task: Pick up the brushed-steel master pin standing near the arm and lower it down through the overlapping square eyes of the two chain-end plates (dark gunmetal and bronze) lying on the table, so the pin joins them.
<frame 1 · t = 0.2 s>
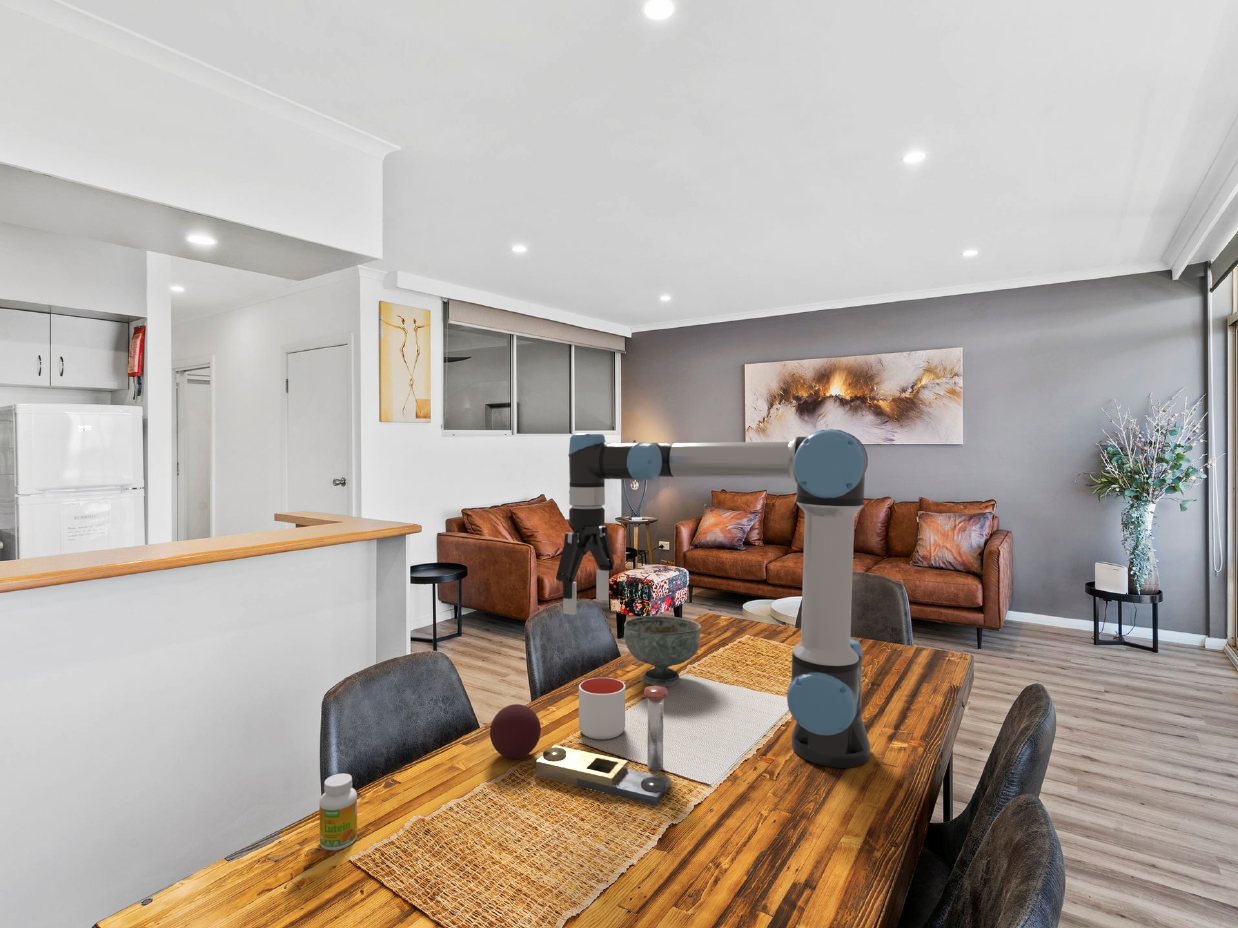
hand: (586, 606, 140), 27 cm above the table, fingers open, 13 cm apart
decorative ball: (515, 756, 131), on the table
cup: (602, 732, 142), on the table
bowl: (661, 679, 173), on the table
chain ends: (602, 781, 121), on the table
supplement bottle: (338, 841, 103), on the table
master pin: (655, 767, 126), on the table
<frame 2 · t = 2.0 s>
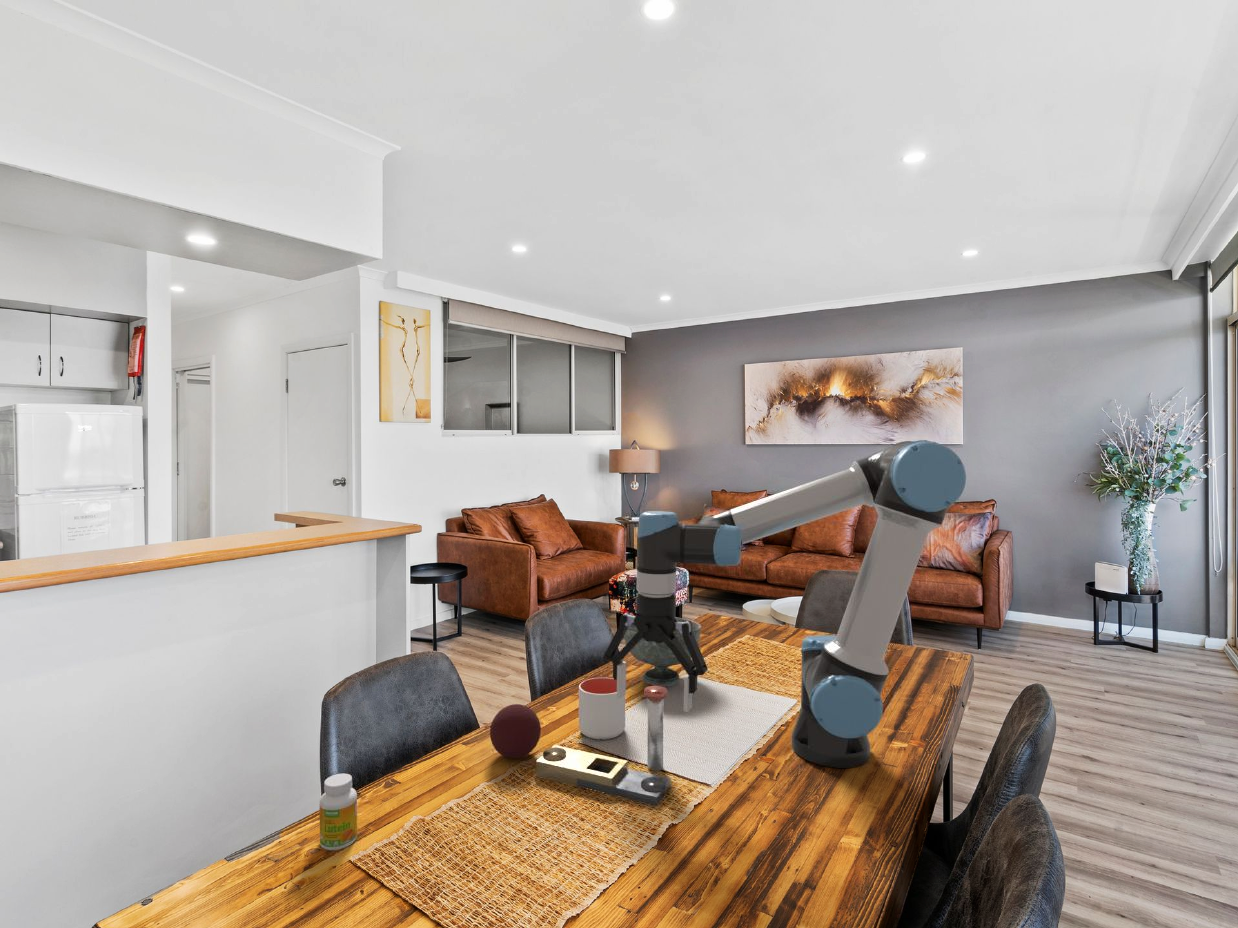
hand: (653, 702, 126), 12 cm above the table, fingers open, 13 cm apart
nothing on the table moved.
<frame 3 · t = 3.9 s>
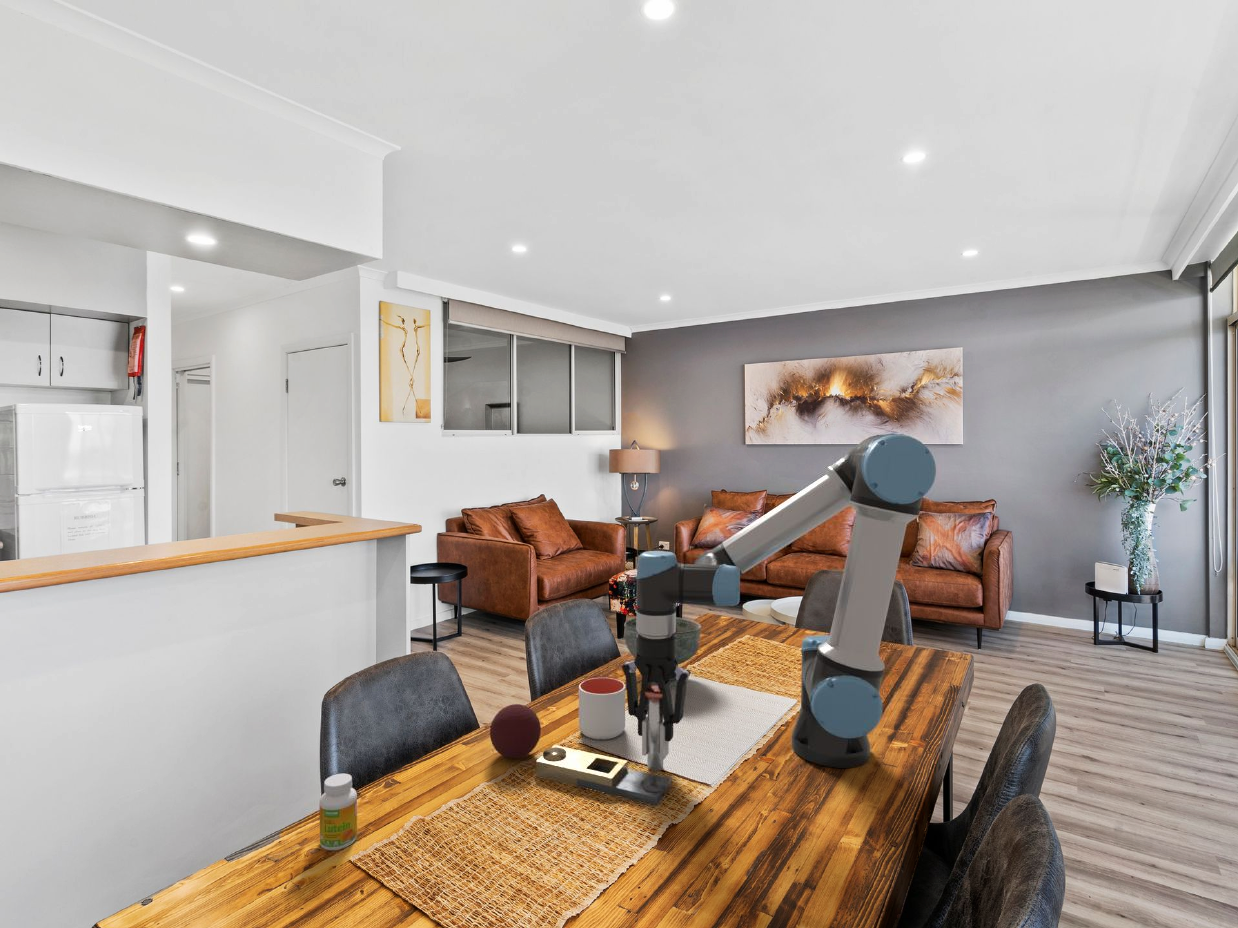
hand: (655, 753, 126), 3 cm above the table, fingers closed on master pin, 3 cm apart
master pin: (655, 766, 126), on the table, touching gripper
everything else where it was.
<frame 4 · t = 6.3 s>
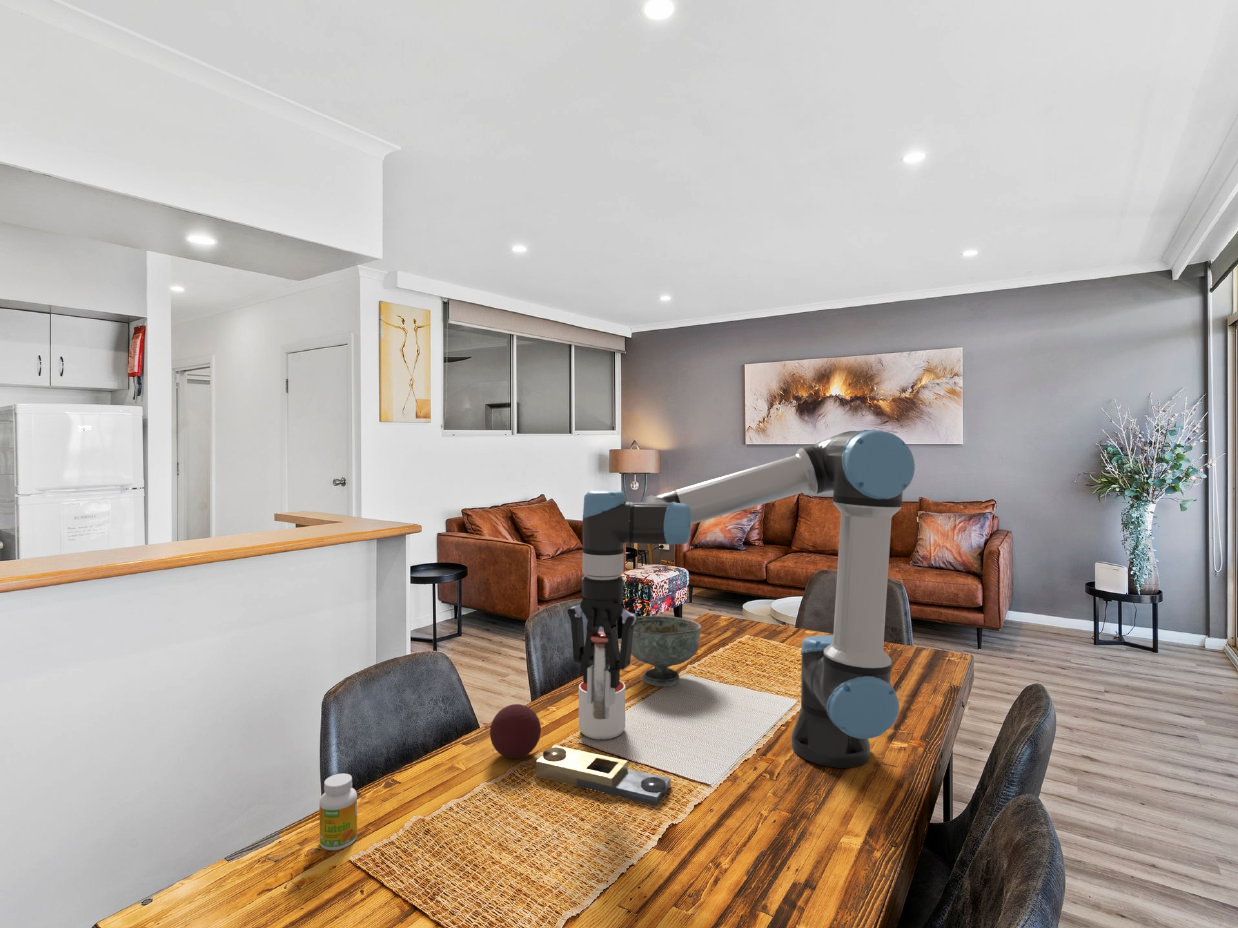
hand: (600, 702, 120), 15 cm above the table, fingers closed on master pin, 3 cm apart
master pin: (600, 715, 120), point 12 cm above the table, touching gripper
everything else where it was.
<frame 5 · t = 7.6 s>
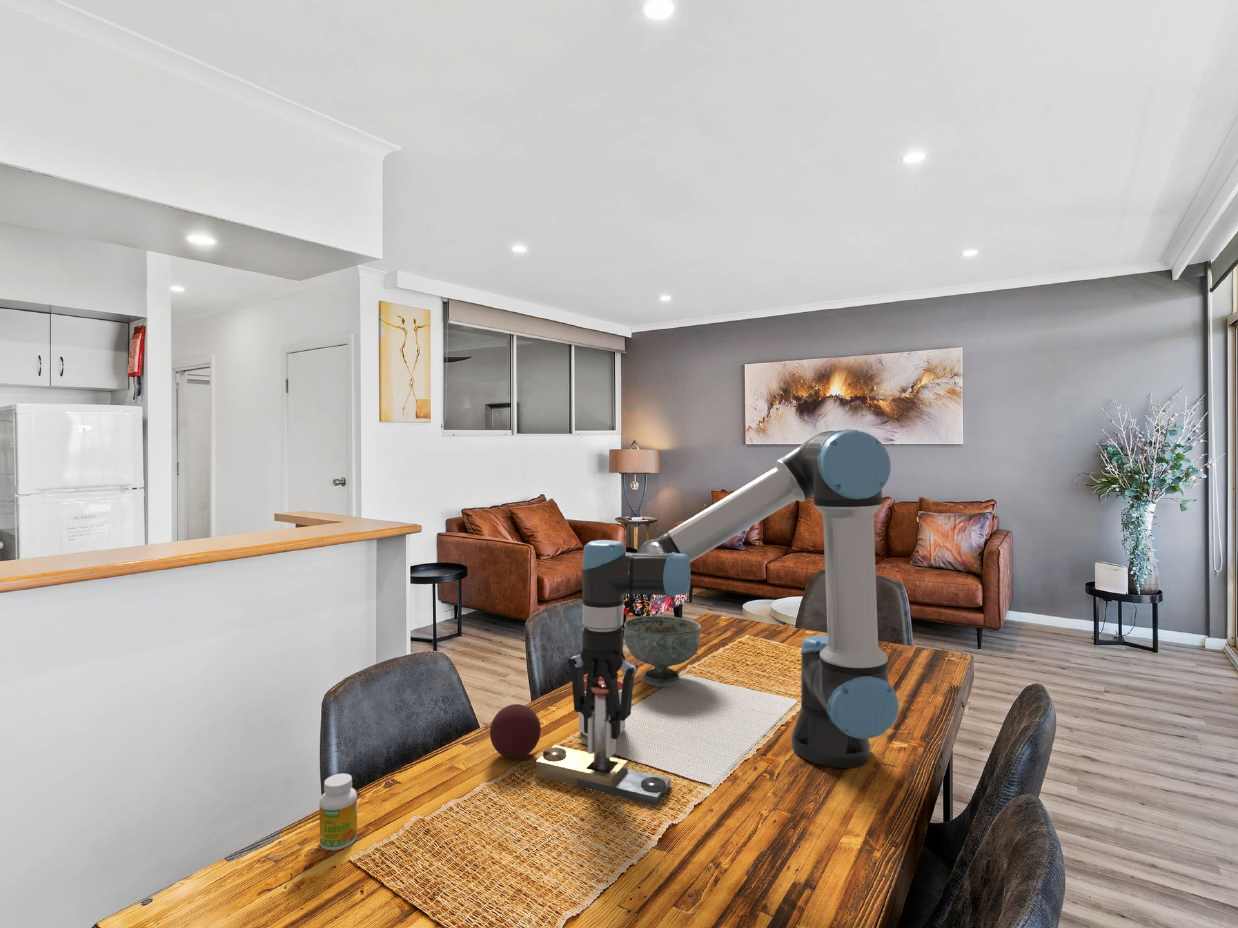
hand: (601, 752, 121), 5 cm above the table, fingers closed on master pin, 3 cm apart
master pin: (601, 765, 121), point 3 cm above the table, touching gripper
everything else where it was.
when the fingers open (4 cm above the table, at t = 8.7 s): master pin drops 1 cm, resting in chain ends.
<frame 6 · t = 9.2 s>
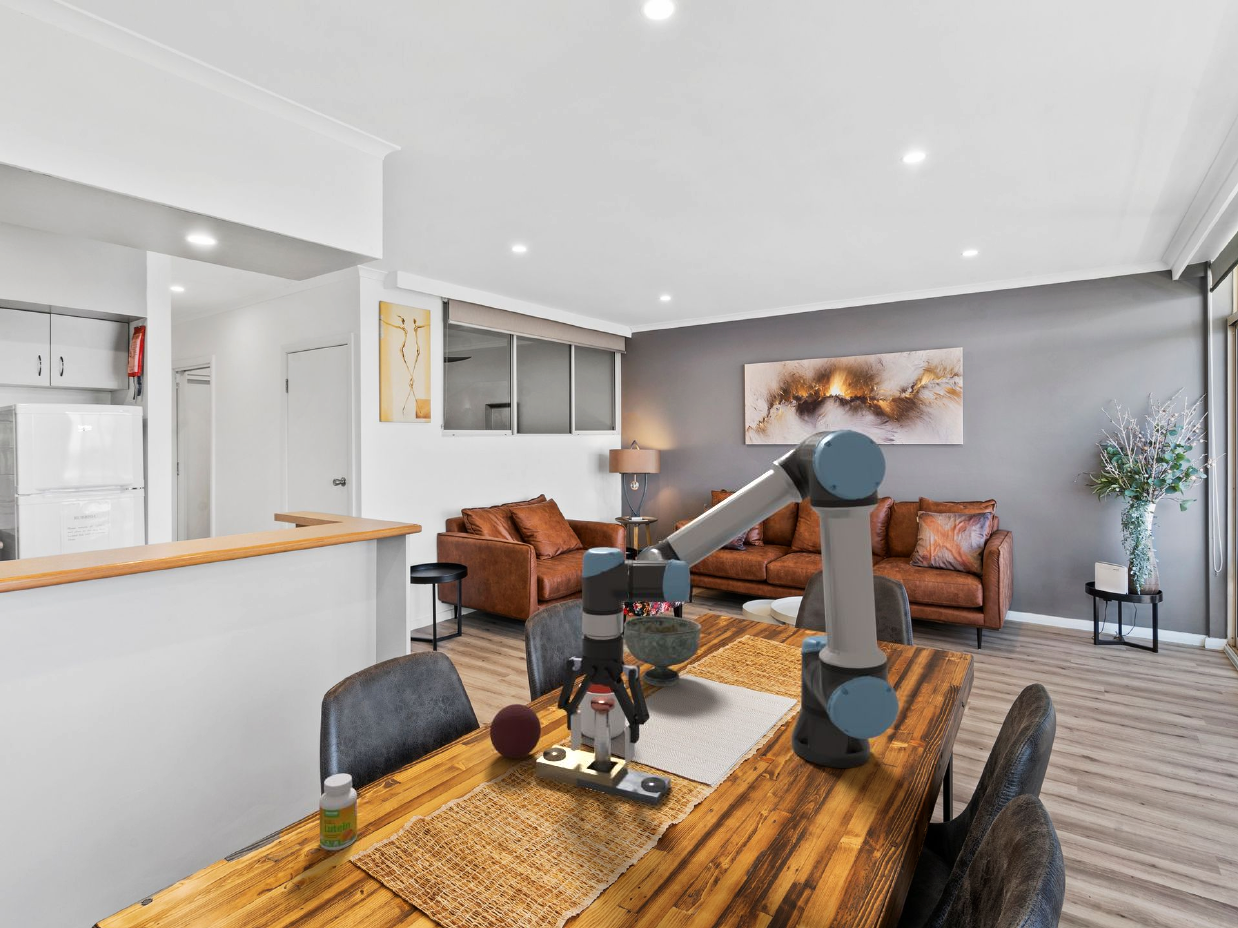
hand: (602, 753, 121), 5 cm above the table, fingers open, 10 cm apart
master pin: (602, 781, 121), resting in chain ends
everything else where it was.
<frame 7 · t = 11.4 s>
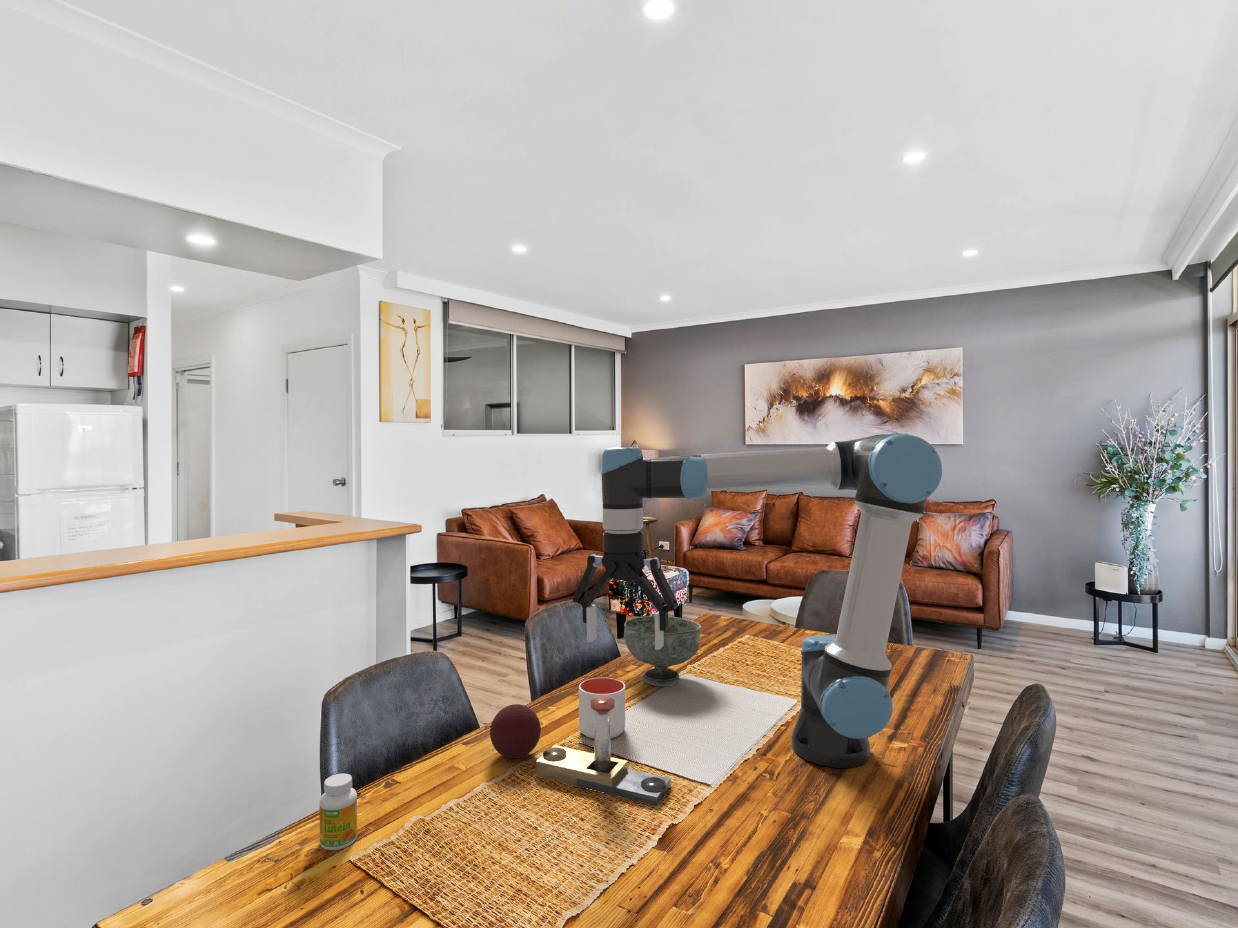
hand: (624, 643, 123), 25 cm above the table, fingers open, 13 cm apart
nothing on the table moved.
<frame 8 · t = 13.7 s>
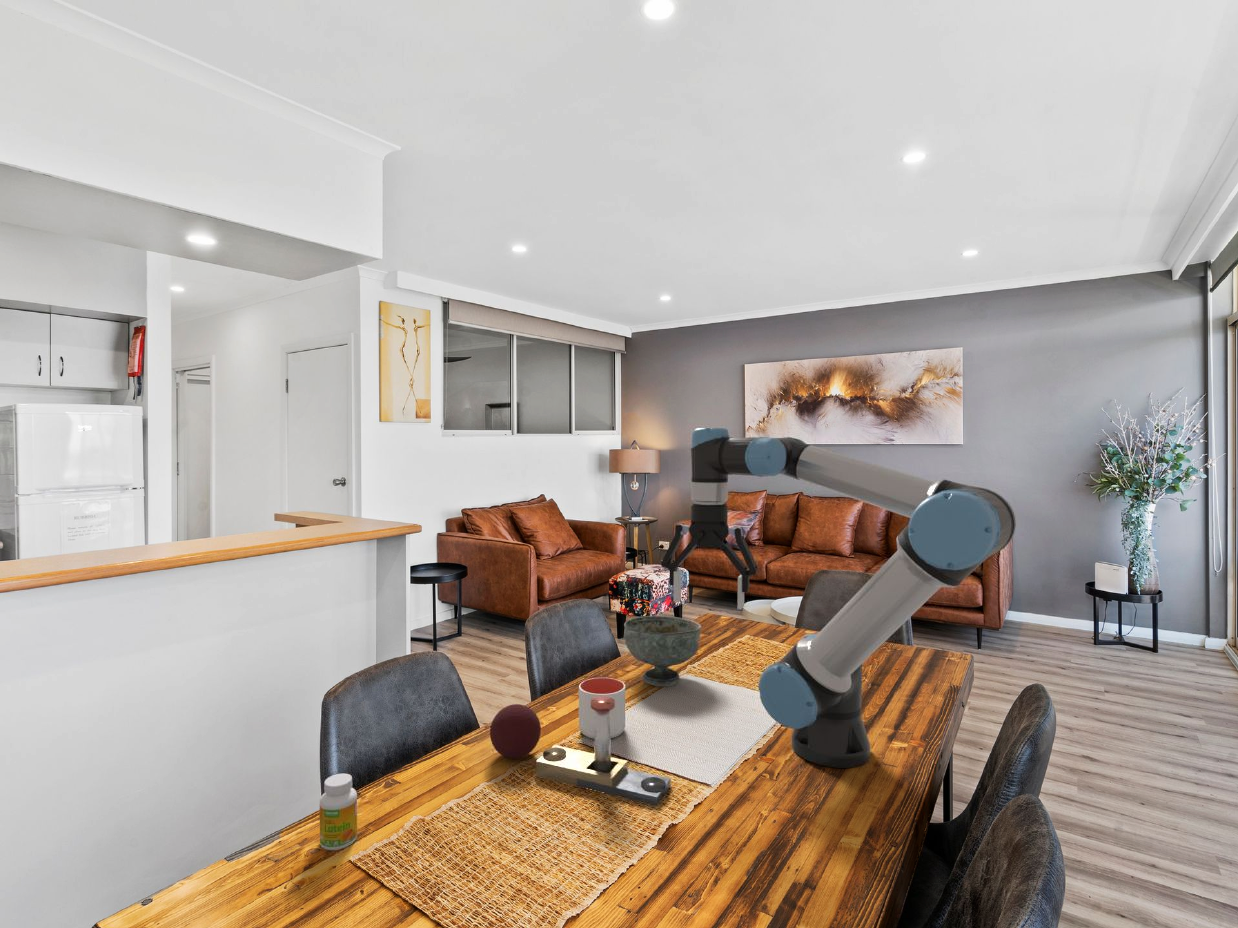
hand: (708, 604, 137), 29 cm above the table, fingers open, 13 cm apart
nothing on the table moved.
at the end: master pin 0.0 cm off-centre on the chain ends, point 0.0 cm above the chain ends's base; master pin tilted 0°; the gripper is holding nothing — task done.
